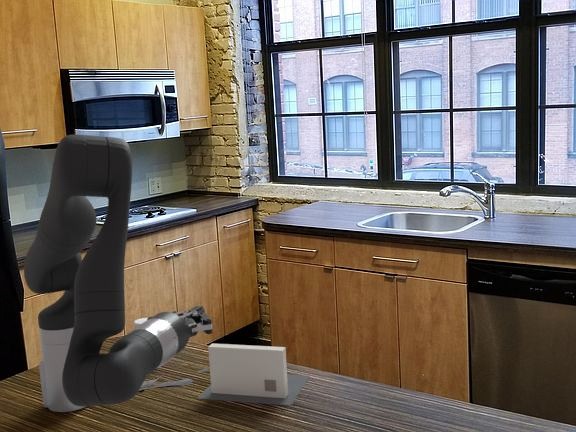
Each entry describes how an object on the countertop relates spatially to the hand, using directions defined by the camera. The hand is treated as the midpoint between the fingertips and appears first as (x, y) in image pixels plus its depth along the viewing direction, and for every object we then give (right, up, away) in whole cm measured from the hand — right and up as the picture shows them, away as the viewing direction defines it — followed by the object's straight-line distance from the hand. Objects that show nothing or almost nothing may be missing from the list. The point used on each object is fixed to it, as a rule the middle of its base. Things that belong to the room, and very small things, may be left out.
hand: (199, 311), depth 126 cm
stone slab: (-10, -19, +22) cm, 31 cm away
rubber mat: (+10, -19, +15) cm, 26 cm away
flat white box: (+9, -19, +12) cm, 24 cm away
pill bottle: (-16, -18, +32) cm, 40 cm away
